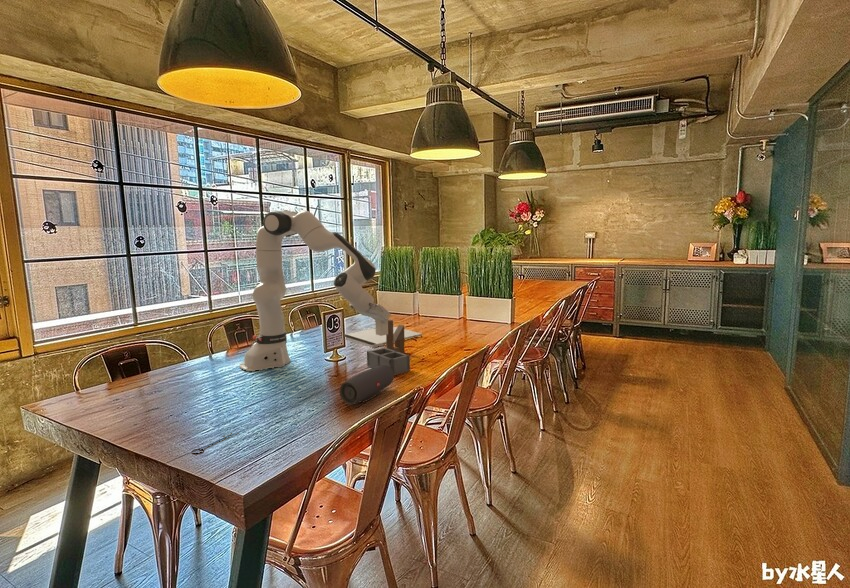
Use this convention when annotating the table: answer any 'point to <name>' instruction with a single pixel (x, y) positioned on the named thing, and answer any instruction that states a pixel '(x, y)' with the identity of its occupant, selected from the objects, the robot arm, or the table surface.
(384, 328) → the clay bar
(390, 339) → the wooden block
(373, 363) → the grey cinder block
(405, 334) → the white flat board
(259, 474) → the table surface
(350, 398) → the bluetooth speaker
